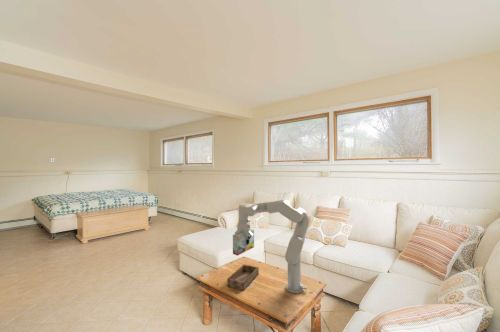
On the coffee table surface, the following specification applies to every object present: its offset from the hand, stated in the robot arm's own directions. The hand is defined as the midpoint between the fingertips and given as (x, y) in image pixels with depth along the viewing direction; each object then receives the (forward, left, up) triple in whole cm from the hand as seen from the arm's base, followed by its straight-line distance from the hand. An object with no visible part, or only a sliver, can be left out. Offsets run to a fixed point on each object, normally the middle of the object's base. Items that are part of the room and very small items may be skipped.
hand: (243, 243), depth 185 cm
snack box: (0, 0, -6) cm, 6 cm away
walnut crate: (+1, 0, -30) cm, 30 cm away
